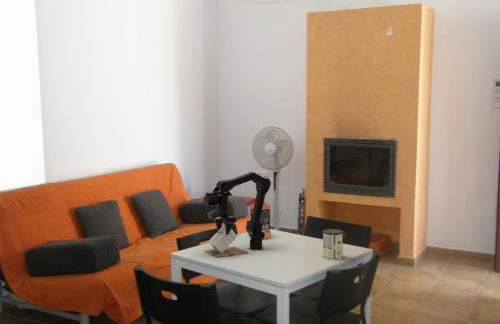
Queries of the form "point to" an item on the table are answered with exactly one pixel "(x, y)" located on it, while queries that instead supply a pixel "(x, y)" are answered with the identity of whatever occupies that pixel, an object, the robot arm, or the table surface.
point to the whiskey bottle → (264, 220)
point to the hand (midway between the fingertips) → (223, 233)
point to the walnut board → (226, 252)
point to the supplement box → (222, 239)
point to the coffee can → (332, 244)
